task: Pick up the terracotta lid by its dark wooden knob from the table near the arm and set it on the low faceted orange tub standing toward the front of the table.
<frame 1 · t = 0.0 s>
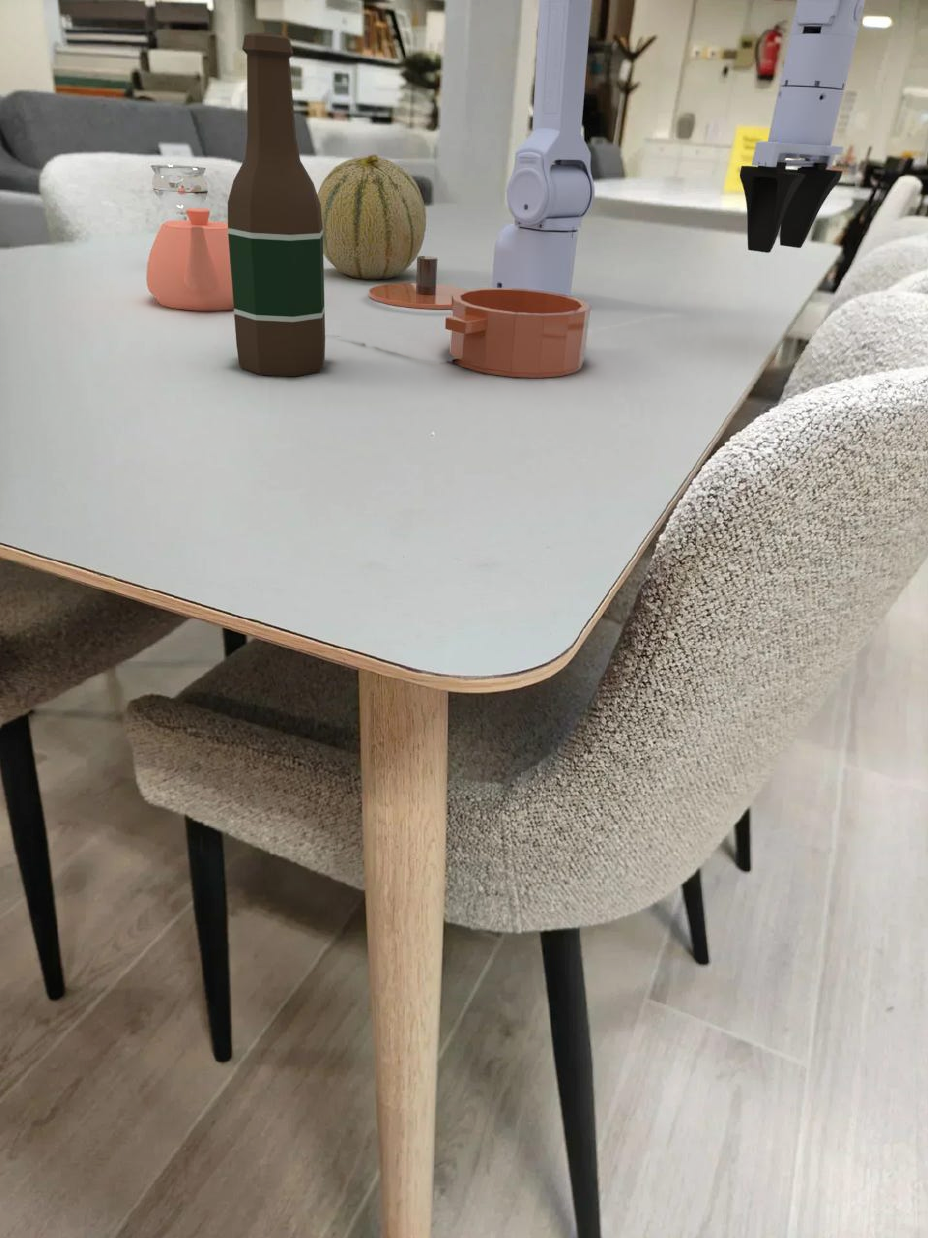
hand: (775, 248, 86), 10 cm above the table, tool pointing down, fingers open, 7 cm apart
cantaloupe: (369, 281, 115), on the table
beer bottle: (282, 367, 75), on the table
teapot: (205, 304, 96), on the table
wineglass: (188, 270, 114), on the table
pot lid: (425, 297, 103), point 1 cm above the table
faceted orange tub: (515, 359, 82), on the table
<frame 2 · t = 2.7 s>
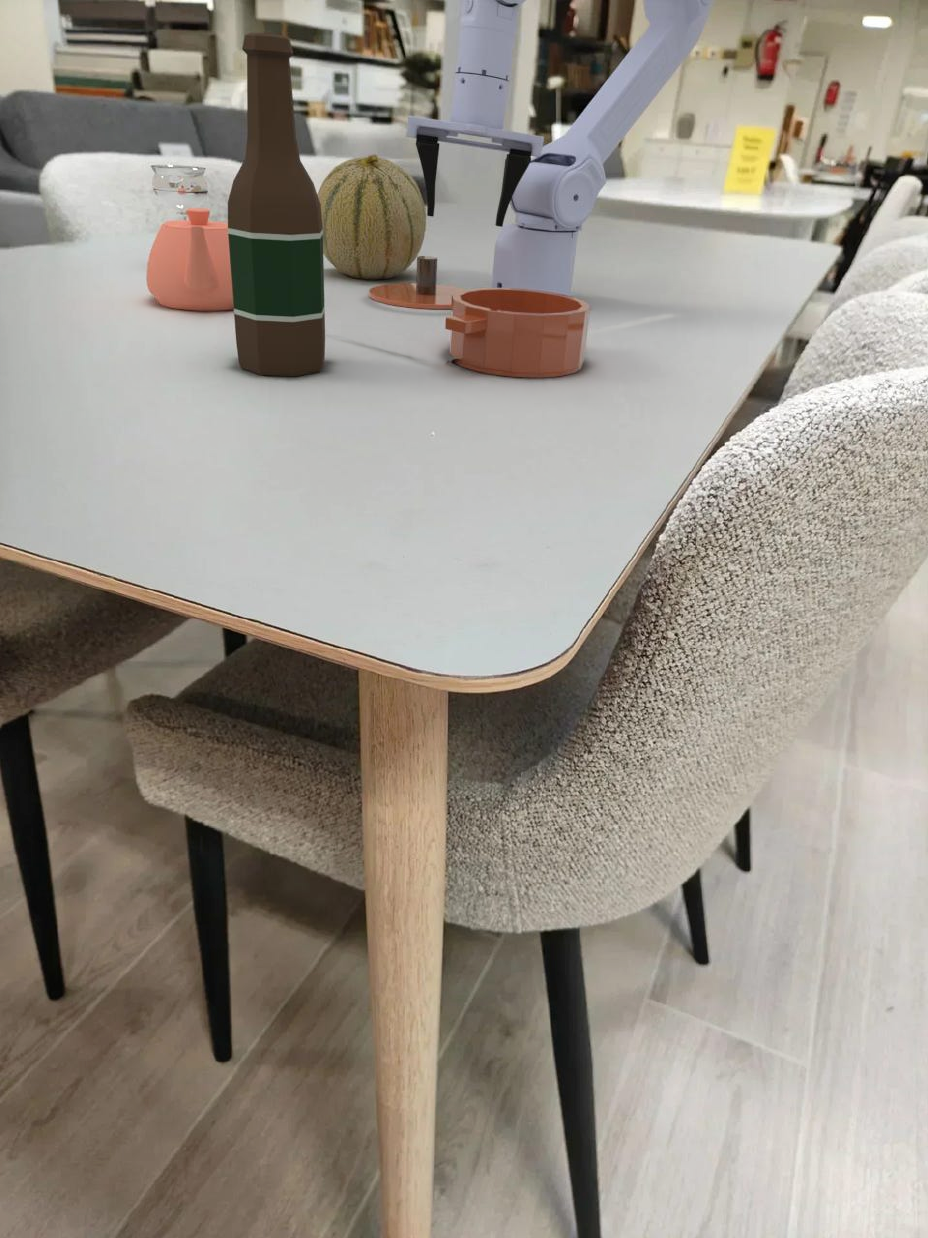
hand: (464, 220, 95), 10 cm above the table, tool pointing down, fingers open, 7 cm apart
nothing on the table moved.
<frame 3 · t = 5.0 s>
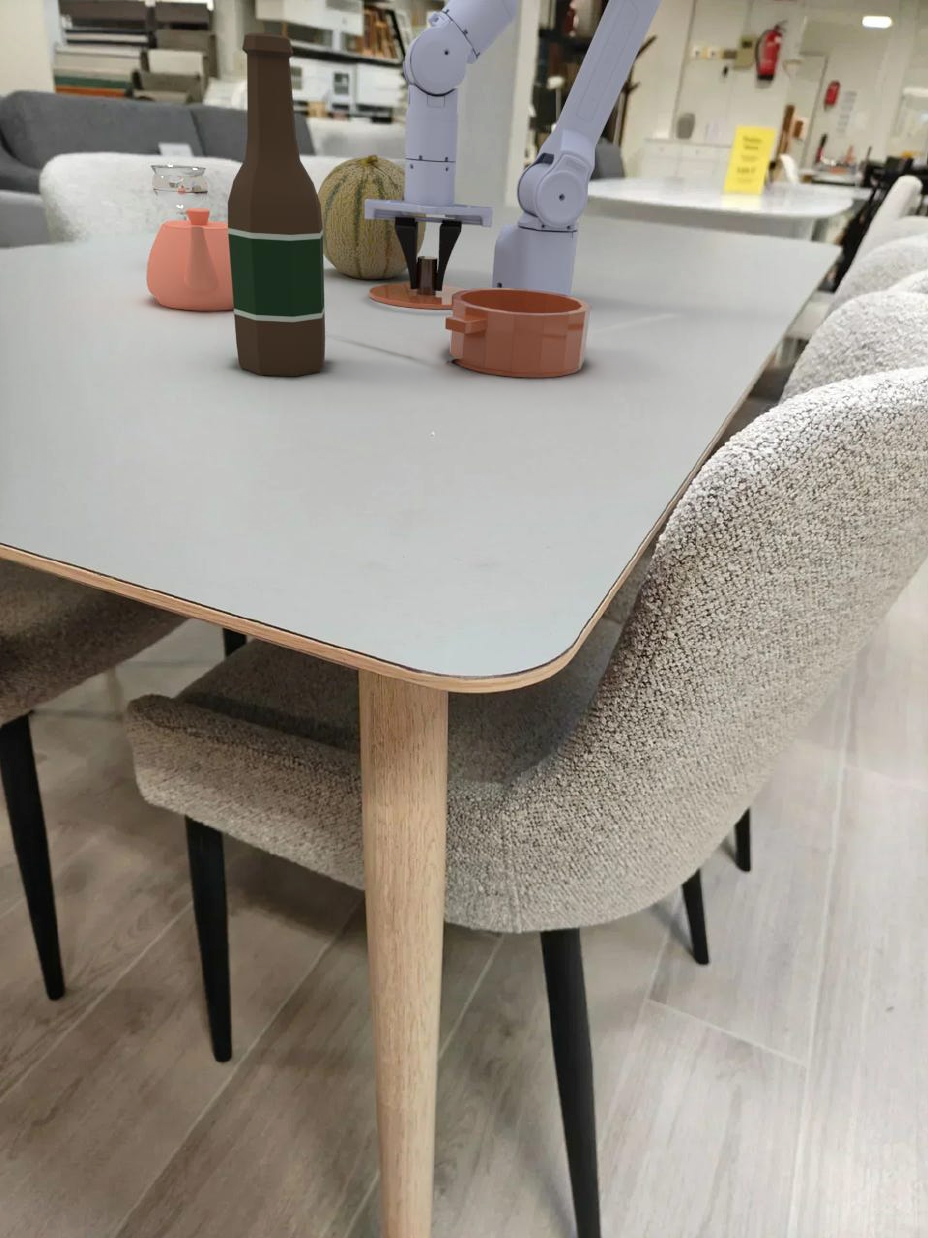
hand: (426, 288, 103), 2 cm above the table, tool pointing down, fingers closed on pot lid, 2 cm apart
pot lid: (426, 297, 103), point 1 cm above the table, touching gripper
everything else where it was.
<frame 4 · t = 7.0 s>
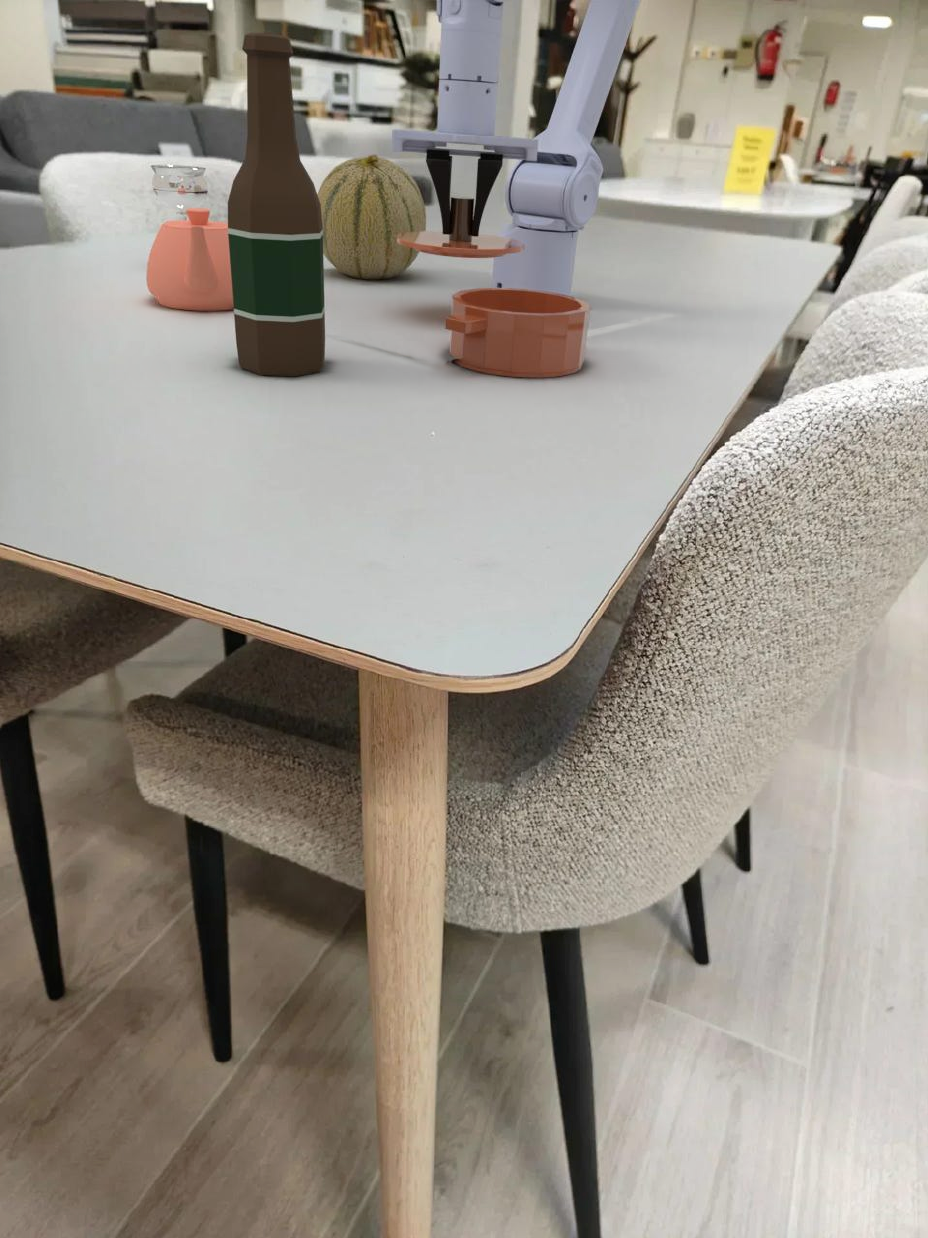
hand: (460, 234, 90), 9 cm above the table, tool pointing down, fingers closed on pot lid, 2 cm apart
pot lid: (460, 244, 91), point 8 cm above the table, touching gripper
everything else where it was.
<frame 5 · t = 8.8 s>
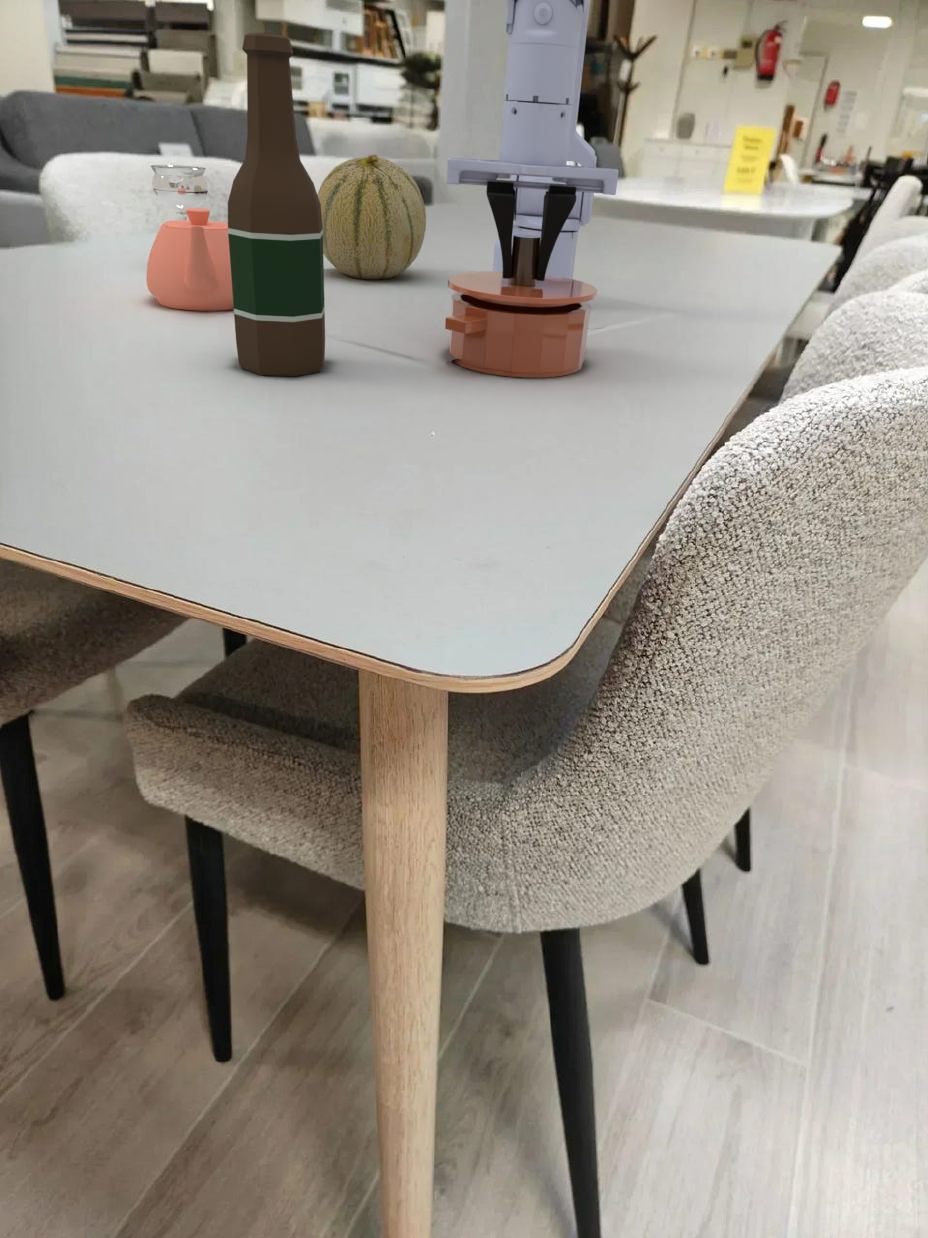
hand: (522, 277, 78), 7 cm above the table, tool pointing down, fingers closed on pot lid, 2 cm apart
pot lid: (522, 289, 78), point 6 cm above the table, touching gripper
everything else where it was.
when the fingers open (6 cm above the table, at t = 9.3 s): pot lid stays where it is, resting on faceted orange tub.
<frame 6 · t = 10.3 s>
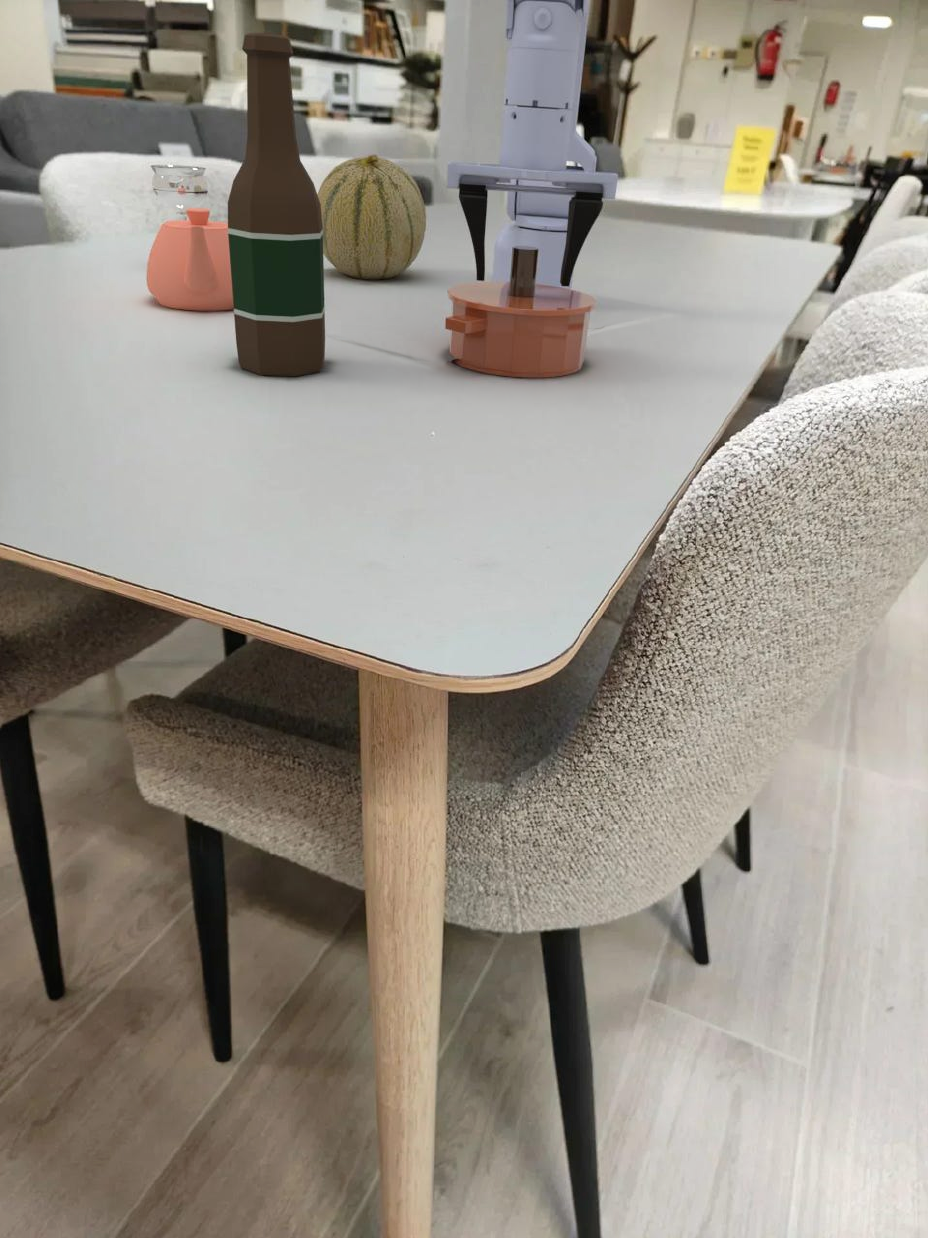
hand: (522, 281, 78), 7 cm above the table, tool pointing down, fingers open, 7 cm apart
pot lid: (521, 300, 79), point 5 cm above the table, touching faceted orange tub
everything else where it was.
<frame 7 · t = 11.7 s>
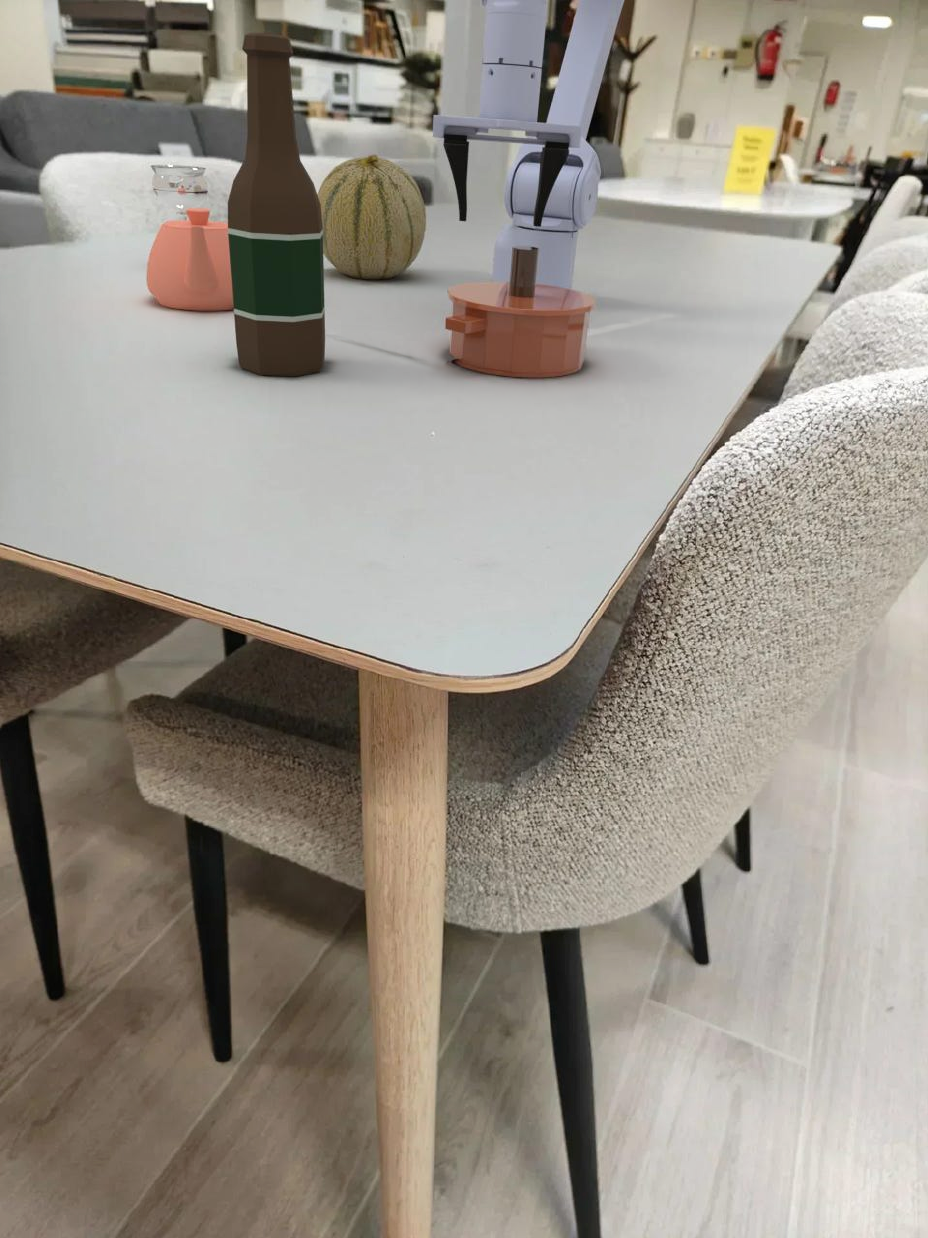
hand: (499, 222, 89), 10 cm above the table, tool pointing down, fingers open, 7 cm apart
nothing on the table moved.
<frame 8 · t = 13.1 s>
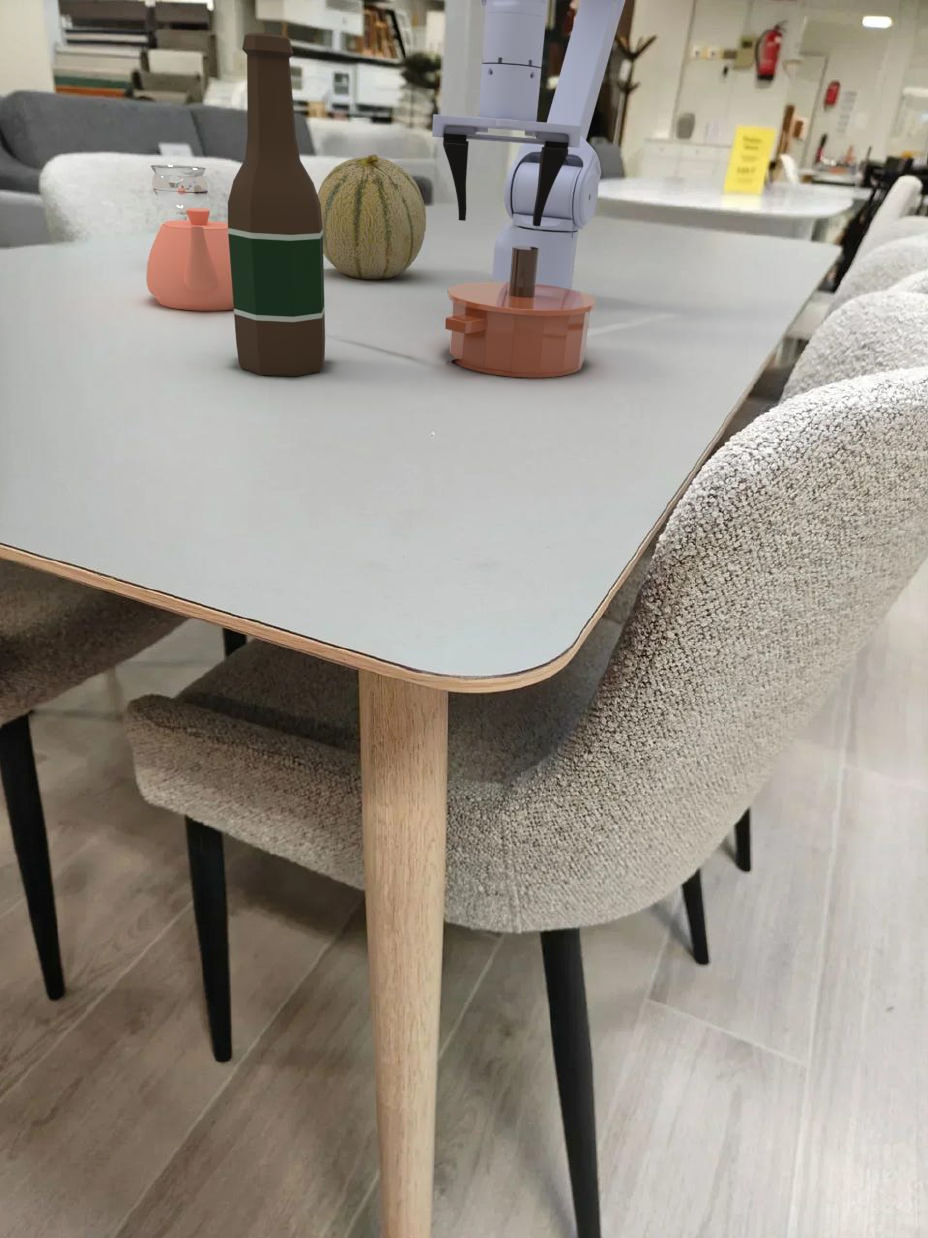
hand: (499, 222, 89), 10 cm above the table, tool pointing down, fingers open, 7 cm apart
nothing on the table moved.
at the end: pot lid 0.0 cm off-centre on the faceted orange tub, point 5.4 cm above the faceted orange tub's base; pot lid tilted 0°; the gripper is holding nothing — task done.
